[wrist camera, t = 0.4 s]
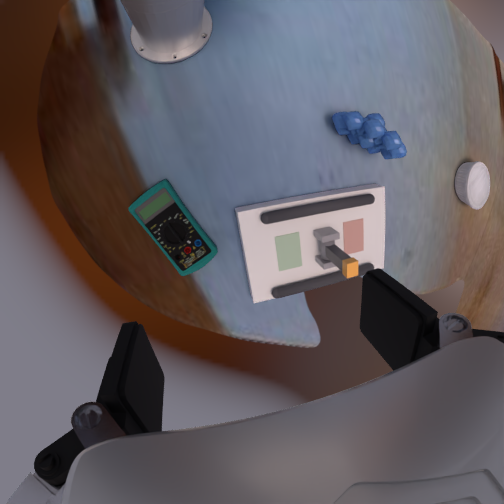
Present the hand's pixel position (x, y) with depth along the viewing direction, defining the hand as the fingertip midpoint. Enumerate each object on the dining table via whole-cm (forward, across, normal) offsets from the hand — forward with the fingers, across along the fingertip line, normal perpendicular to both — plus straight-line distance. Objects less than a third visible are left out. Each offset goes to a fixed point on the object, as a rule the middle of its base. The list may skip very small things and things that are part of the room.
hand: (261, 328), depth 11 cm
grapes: (+34, -25, -8) cm, 43 cm away
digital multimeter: (+35, +7, +4) cm, 36 cm away
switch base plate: (+35, -16, +10) cm, 40 cm away
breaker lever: (+31, -16, +10) cm, 36 cm away
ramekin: (+35, -58, +3) cm, 68 cm away
